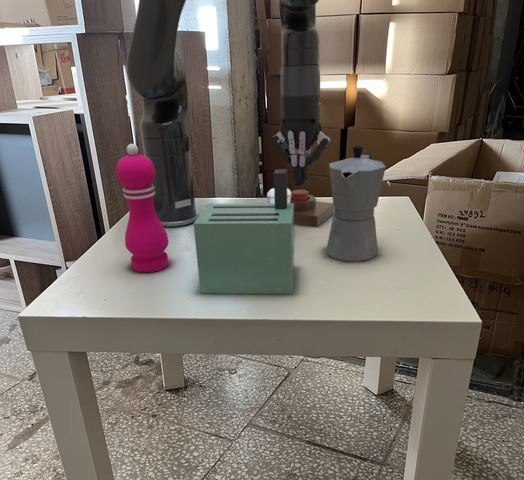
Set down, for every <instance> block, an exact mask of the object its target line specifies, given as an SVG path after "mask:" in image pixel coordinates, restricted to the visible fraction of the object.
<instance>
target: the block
mask: <svg viewBox="0 0 524 480" xmlns="http://www.w3.org/2000/svg"><path fill="white" fill-rule="evenodd" d="M291 203H294V225H299V226H305V227H315V228H318V227H319V226H320V225H322V224H323V223H324V222H326V221H327V220H328V219H329V218H331V216H332V217H333V216H334V212H335V207H334V205H333V202H325V201H324V202H323V201H317V198H316V196H315V195H312V194H309V195H308V200H305V201H293V200H291Z"/></svg>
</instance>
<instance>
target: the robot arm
mask: <svg viewBox="0 0 524 480" xmlns="http://www.w3.org/2000/svg"><path fill="white" fill-rule="evenodd" d="M186 1H187V0H138V6H137V11H136V18H135V22H134V26H133V31H132V35H131V39H130V42H129V43H130V44H129V48H128V52H127V58H126V64H125V65H126V68H125V69H126V76H127V80H128V82H129V85H130V87H131V88H132V90H133V91H134V92H135V93H136V94H137V95H138V96H139V97H141V98H142V106H143V108H142V116H141V119H140V123H139V129H140V135H141V143H142V151H143V155H144V156H146V157H148V158H149V159H150V160H151V161H152V163H153V165H154V167H155V178H154V180H153V181H152V185H154V191H155V194H154V195H153V204H154V209H155V212H156V215H157V217H158V219H159V221H160V222H161V224H162V225H163V227H180V226H186V225H190V224H192V223H193V224H194V222H195V220H196V219H197V217H198V214H197V207H196V206H197V205H196V198H195V197H196V196H195V195H196V194H195V186H194V185H195V184H194V177H193V168H192V167H193V166H192V158H191V149H190V148H191V147H190V138H189V127H188V125H189V117H190V110H189V108H190V107H189V94H188V92H189V91H188V79H187V71H186V66H185V62H184V59H183V57H182V55H181V53H180V52H179V51H178V49H177V48H176V47H177V40H178V39H177V38H178V32H179V31H178V30H179V24H180V19H181V15H182V12H183V10H184V7H185V4H186ZM277 1H278V2H277V3H278V14H279V23H280V31H281V42H280V51H281V53H280V54H281V56H280V58H281V70H280V86H279V91H280V118H281V123H280V125H279V131H278V132H277V133H276V134H275V135H273V136H270V138H269V141H270V143H271V145H272V146H273V147H274V148H275V150H276V151H277V154H279V157H280V158H281V159H282V161H283V162H284V163H285V164H289V165H291V166H292V180H293V183H295V186H301V187H303V186H305V185H306V184H307V182H308V181H309V166H310V165H312V164H314V163H316V162H318V160H319V159H320V158H321V156H322V155H323V154H324V152H325V151H326V150H327V148H328V147H329V145H330V144H331V143H332V141H333V138H332V137H331V136H327V135H326V134H325V133H324V132H323V129H322V125H321V123H320V118H321V70H320V34H319V31H318V29H317V20H316V19H317V13H316V9H317V8H316V7H317V6H316V5H317V3H318V2H319V1H320V0H277ZM315 142H316V145H317V146H316V147H315V148H314V150H313V152H312V147H313V145H314V144H315ZM311 152H312V153H311Z"/></svg>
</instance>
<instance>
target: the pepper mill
mask: <svg viewBox="0 0 524 480" xmlns="http://www.w3.org/2000/svg"><path fill="white" fill-rule="evenodd" d="M126 153H127V154H126V155H124V156H123V157H121V158H120V159H119V160H118V162H117V164H116V167H115V168H116V169H115V171H116V177H117V179H118V181H119V182H120V183H121V184H122V185H123V186H124V187H122V192H123V197H124V199H126V200H127V203H128V210H129V213H128V214H129V215H128V222H127V225H126V229H125V233H124V242H125V245H124V246H125V248H126V249H127V251H128V252H129V253H130V254H131V255H132V256H131V257H130V261H131V268H132V269H133V270H134V271H135V272H139V273H154V272H158V271H162V270H164V269H166V268H167V267H168V266H169V263H170V262H169V255H168V253H167V252H166V249H167V248H168V246H169V241H170V240H169V237H168V233H167V231H166V228H165V226H163V225H162V224H161V222H160V221H159V219H158V217H157V215H156V212H155V209H154V204H153V195H154V194H155V191H154V185H152V181H153V180H154V178H155V167H154V165H153V163H152V161H151V160H150V159H149V158H148V157H146V156H144V154H140V153H139V147H138V146H137V144H134V143H129V144H128V145H127V146H126Z"/></svg>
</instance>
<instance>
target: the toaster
mask: <svg viewBox="0 0 524 480" xmlns="http://www.w3.org/2000/svg"><path fill="white" fill-rule="evenodd" d="M192 225H193V232H194V233H193V234H194V242H195V252H196V261H197V262H196V263H197V271H198V280H199V290H200V294H204V295H205V294H207V295H208V294H211V295H213V294H217V295H223V294H227V295H230V294H231V295H232V294H233V295H234V294H235V295H293V285H294V275H295V224H294V203H287V208H275V203H268V202H265V203H257V202H256V203H205V205H204V206H203V208H202V210H201V211H200V212H199V214H198V215H197V219H196V220H195V222H193V224H192Z"/></svg>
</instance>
